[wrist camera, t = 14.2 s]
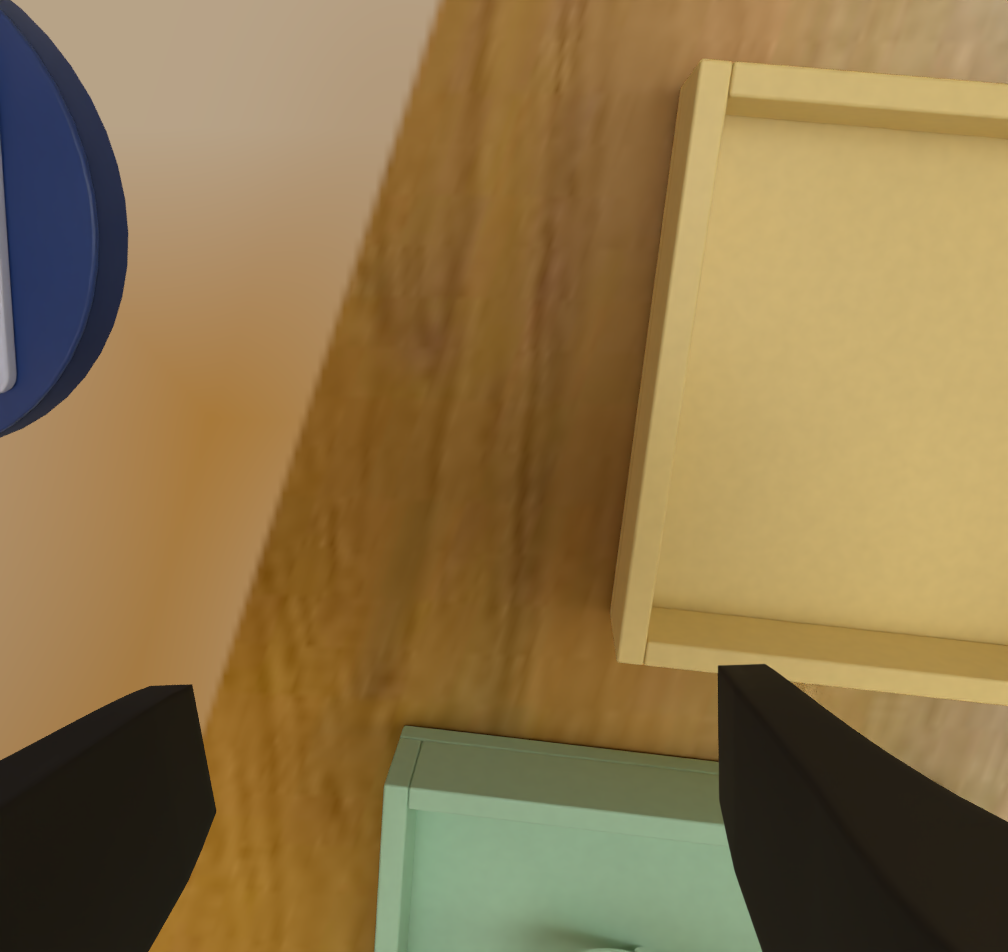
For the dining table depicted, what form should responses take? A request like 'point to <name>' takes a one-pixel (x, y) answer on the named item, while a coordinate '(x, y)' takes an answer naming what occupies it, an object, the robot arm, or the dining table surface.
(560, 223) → the dining table surface
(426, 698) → the dining table surface
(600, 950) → the ring
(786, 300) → the yellow tray
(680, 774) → the green tray
